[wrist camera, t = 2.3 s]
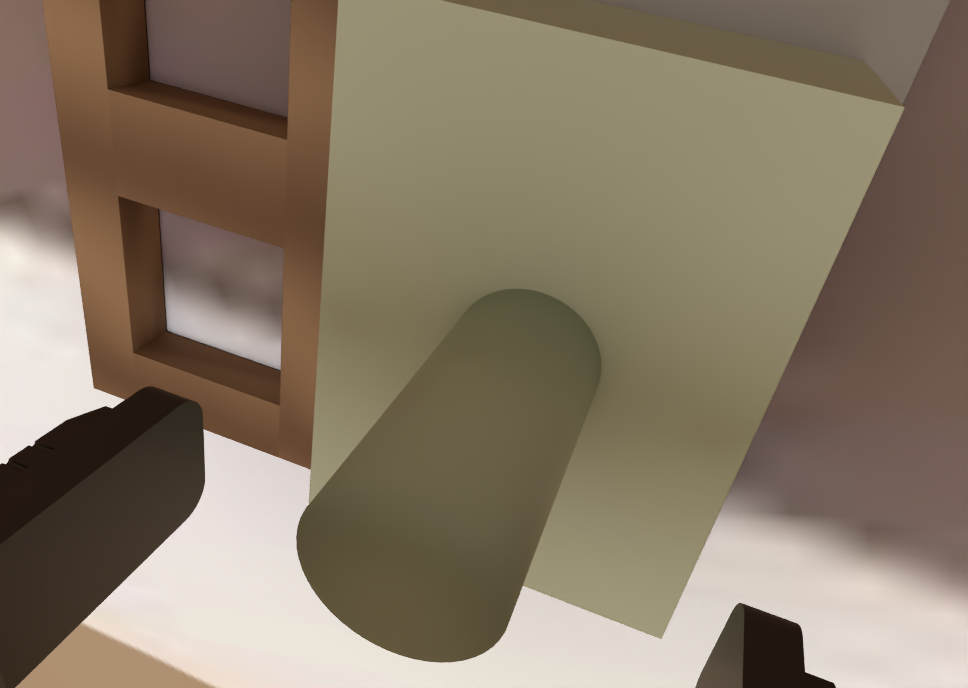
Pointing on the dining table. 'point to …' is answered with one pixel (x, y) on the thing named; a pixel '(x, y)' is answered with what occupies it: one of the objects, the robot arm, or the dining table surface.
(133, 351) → the walnut frame
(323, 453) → the green cover
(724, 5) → the grey mat
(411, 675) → the dining table surface
